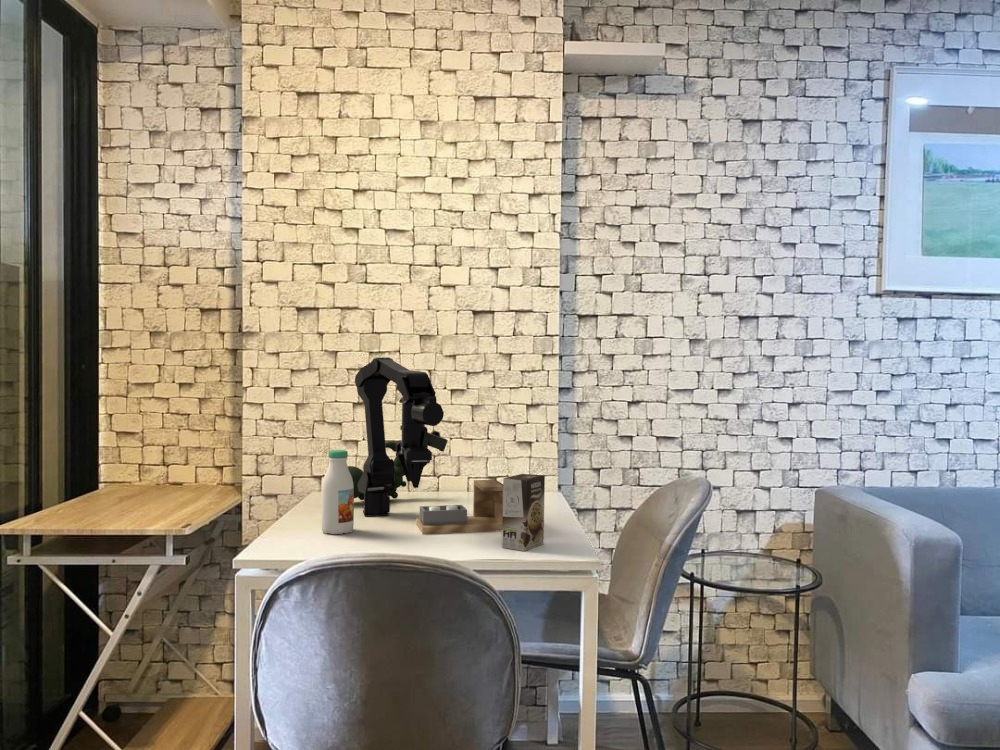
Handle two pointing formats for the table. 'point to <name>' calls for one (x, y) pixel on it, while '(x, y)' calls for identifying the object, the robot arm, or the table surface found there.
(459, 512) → the tray
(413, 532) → the table surface
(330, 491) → the milk bottle
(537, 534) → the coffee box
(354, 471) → the toy figurine
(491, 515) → the wooden l-shaped stand
